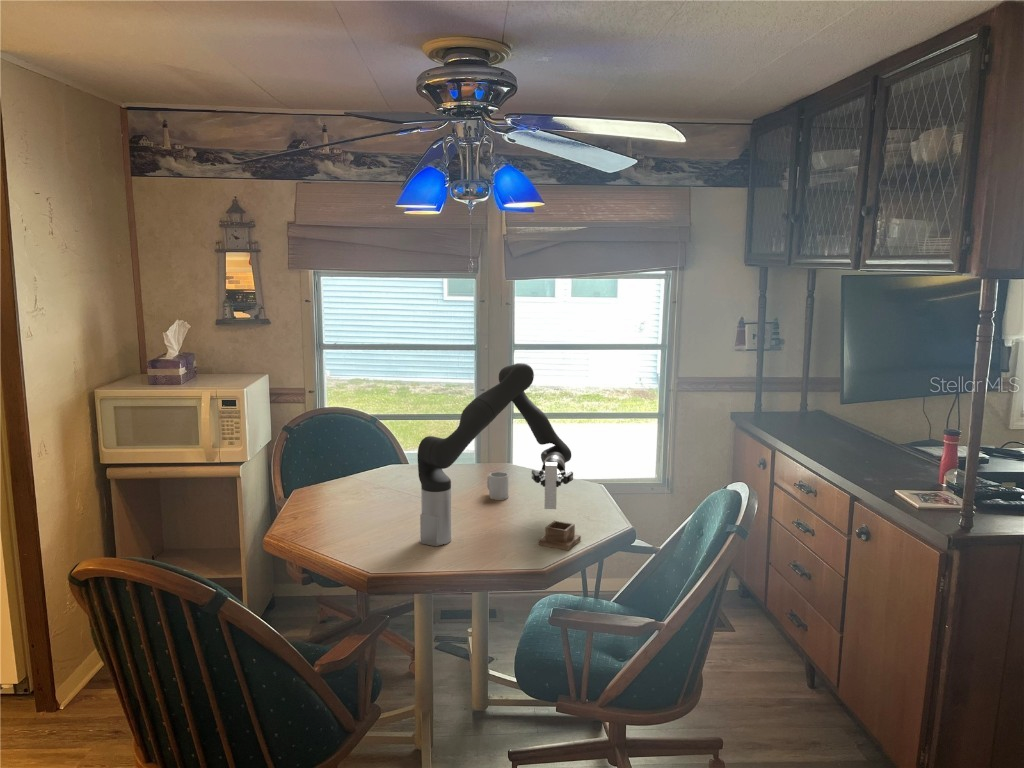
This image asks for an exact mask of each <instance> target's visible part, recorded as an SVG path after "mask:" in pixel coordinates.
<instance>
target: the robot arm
mask: <svg viewBox="0 0 1024 768" xmlns="http://www.w3.org/2000/svg"><path fill="white" fill-rule="evenodd" d="M534 379H535V372H534V370H533V368H532V366H530V365H529V364H527V363H524V362H520V363H519V362H517V363H514V364H510V365H507V366H505V367H503V368H501V369H500V371H499V373H498V383H497V384H496V385H494V386H492V387H491V388H488V390H485V391H484V392H482V393H481V394H479V395H478V396H476V397H475V398H474V399H473V400H471V402H470V403H468V404H467V405H466V406H465V407H464V409H463V410H462V412H461V414H460V419H459V423H458V426H457V428H456V429H455V430H454V431H453V432H452V433H451V434H450V435H448V436H447V437H445V438H442V437H437V436H432V435H429V436H428V435H427V436H425V437H423V438H422V440H420V443H419V444H418V448H417V470H418V471H417V473H418V479H419V482H420V485H421V488H420V489H421V492H420V493H421V514H420V515H419V517H420V519H419V520H420V526H419V527H420V529H419V531H420V544H422V545H428V546H433V547H439V546H444V545H447V544H450V543H451V541H452V481H451V478H450V477H449V476H448V475H447V474H446V473H445V472H444V470H443V469H448V468H449V467H450V466H452V465H453V464H454V463H455V462H456V461H457V460H458V459H459V457H461V454H462V453H463V452H464V451H465V449H466V448H467V447H468V446H469V444H471V443H472V442H473V441H474V439H476V437H477V436H478V435H480V433H481V432H482V431H483V430H484V429H486V428H487V427H488V426H489V425H490V424H491V423H492V422H493V421H494V420H495V419H496V418H497V416H499V414H500V413H502V412H503V410H505V409H506V407H508V406H509V404H510V403H511V402H512V403H513V405H514V406H515V407H516V409H517V410H518V411H519V413H520V415H521V416H522V417H523V419H524V420H525V422H526V423H527V425H528V427H529V429H530V431H531V432H532V434H533V436H534V438H535V440H536V442H537V443H538V445H541V446H542V445H548V444H552V446H551V447H549V448H546V449H545V450H543V451H542V452H541V453H540V458H541V463H542V466H541V470H539V471H536V470H534V469H533V470H531V480H533V482H535V483H536V484H540V486H542V487H544V488H545V463H546V462H557V480H556V487H557V488H559V487H561V486H562V483H563V484H564V485H567V484H569V483H570V482H572V481H573V480H574V472H573V471H568V472H566V463H568V462H569V461H570V460H572V451H571V449H570V447H569V446H568V445H567V444H566V443H565V442H564V441H563V440H562V439H561V438H560V437H559V435H558V434H557V432H556V431H555V429H554V428H553V426H552V424H551V422H550V420H549V418H548V416H546V414H545V412H543V411H542V410H541V409H540V407H538V406H537V405H536V404H535V403H534V402H533V401H532V400H531V399H530V398H529V397H528V396H527V393H525V391H526V390H527V389H528V388H530V387H531V385H532V384H533V381H534ZM443 544H444V545H443Z"/></svg>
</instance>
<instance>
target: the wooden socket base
mask: <svg viewBox="0 0 1024 768" xmlns="http://www.w3.org/2000/svg"><path fill="white" fill-rule="evenodd" d="M544 529H545V530H544V531H545V533H544V534H545V535H544V536H542V538H540V539H538V545H539V546H542V545H543V547H547V548H548V547H549V548H554V549H558V550H565V551H569V550H571V549H572V548H573V547H575V545H577V544H578V543H580V542H581V540H582V539H581V538H582V536H581V535H579V534H576V533H575V532H576V531H575V530H576V527H575V523H572V522H571V523H569V522H564V521H557V520H553V521H552V522H551V523H549V524H548V525H547V526H546V527H545V528H544Z"/></svg>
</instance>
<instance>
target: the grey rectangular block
mask: <svg viewBox="0 0 1024 768" xmlns="http://www.w3.org/2000/svg"><path fill="white" fill-rule="evenodd" d="M556 480H557V462H546V463H545V487H544V510H557V504H558V502H557V499H558V498H557V497H558V496H557V495H558V487H556Z"/></svg>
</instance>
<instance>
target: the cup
mask: <svg viewBox="0 0 1024 768" xmlns="http://www.w3.org/2000/svg"><path fill="white" fill-rule="evenodd" d="M509 476H510V475H509V473H508V472H504V471H494V472H490V473H489V475H488V477H487V479H486V487H487V490H488V495H489V499H491V500H493V499H495V500H494V501H504V499H505V500H507V499H508V498H509V478H510V477H509Z"/></svg>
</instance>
